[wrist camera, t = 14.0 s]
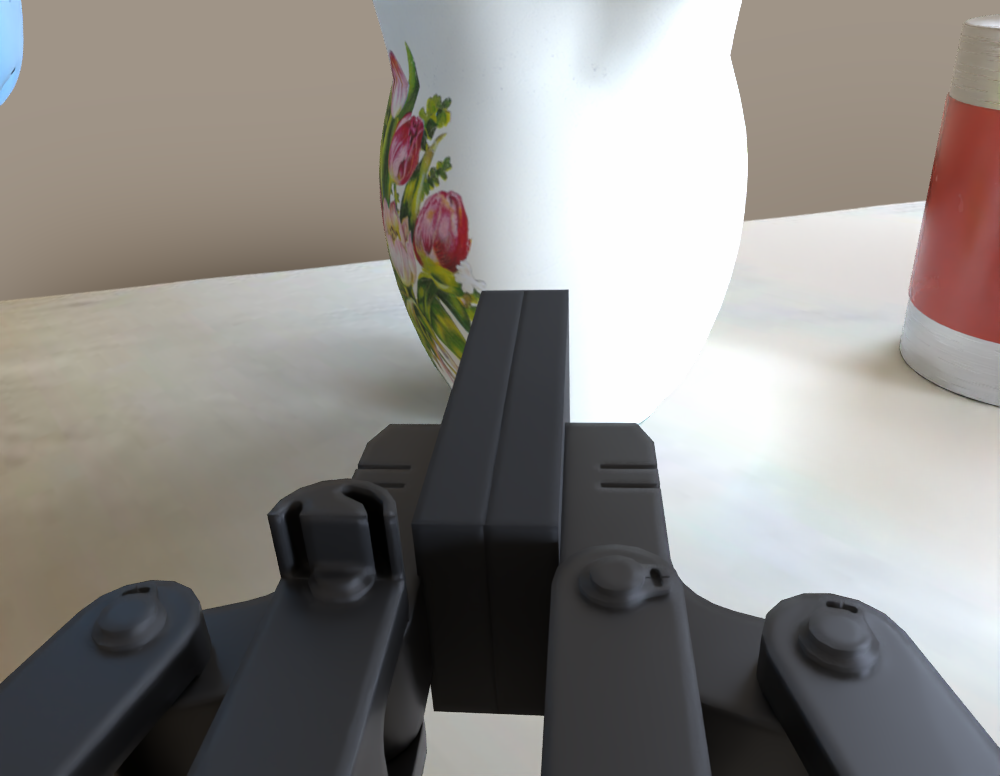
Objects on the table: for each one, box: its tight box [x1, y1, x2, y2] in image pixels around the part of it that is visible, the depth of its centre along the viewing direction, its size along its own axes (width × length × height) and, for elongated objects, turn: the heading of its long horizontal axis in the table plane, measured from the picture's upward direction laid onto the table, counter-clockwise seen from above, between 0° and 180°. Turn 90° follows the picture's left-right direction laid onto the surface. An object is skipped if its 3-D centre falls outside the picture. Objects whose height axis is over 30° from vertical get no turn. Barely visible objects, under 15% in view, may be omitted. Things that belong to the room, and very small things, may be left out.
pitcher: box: [373, 0, 747, 424], centre depth 26 cm, size 11×18×14 cm, turn 26°
